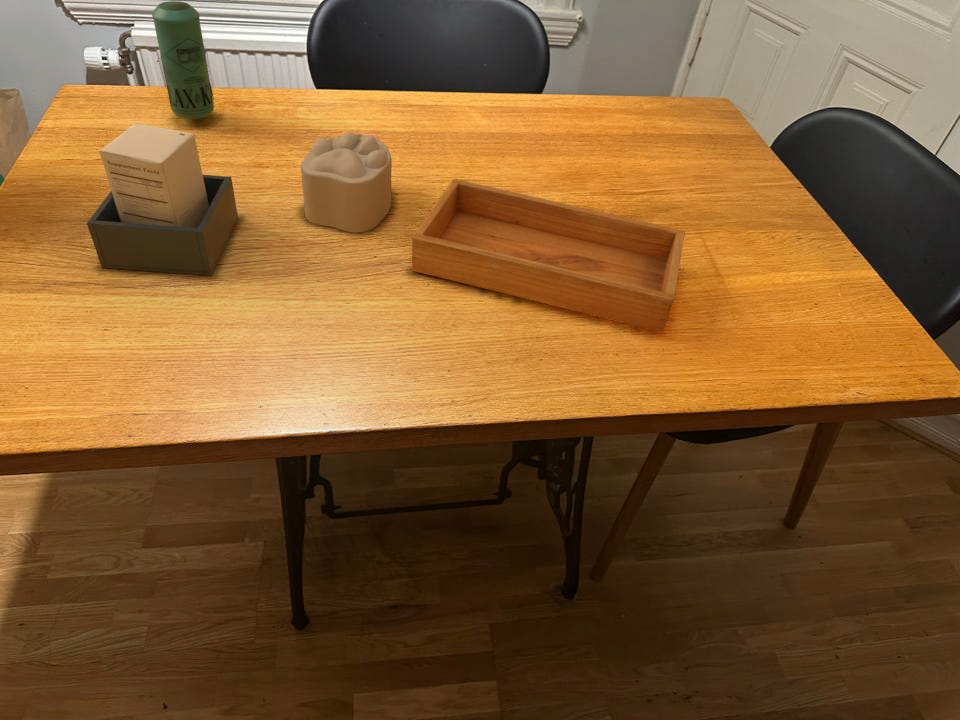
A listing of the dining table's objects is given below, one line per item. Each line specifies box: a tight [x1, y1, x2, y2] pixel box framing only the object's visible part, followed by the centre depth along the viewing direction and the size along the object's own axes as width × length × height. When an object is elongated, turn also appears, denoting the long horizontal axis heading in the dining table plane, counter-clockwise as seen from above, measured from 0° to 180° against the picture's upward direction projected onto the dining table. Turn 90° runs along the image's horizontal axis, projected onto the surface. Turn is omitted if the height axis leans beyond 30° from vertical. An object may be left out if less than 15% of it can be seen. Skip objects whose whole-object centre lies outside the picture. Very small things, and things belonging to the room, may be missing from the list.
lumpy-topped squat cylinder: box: [300, 132, 393, 234], centre depth 92 cm, size 10×13×9 cm
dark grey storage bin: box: [86, 173, 239, 277], centre depth 83 cm, size 12×12×6 cm
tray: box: [411, 178, 686, 333], centre depth 86 cm, size 31×15×6 cm, turn 73°
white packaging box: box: [98, 122, 209, 229], centre depth 80 cm, size 7×7×13 cm
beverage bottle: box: [151, 0, 216, 120], centre depth 102 cm, size 6×7×20 cm
